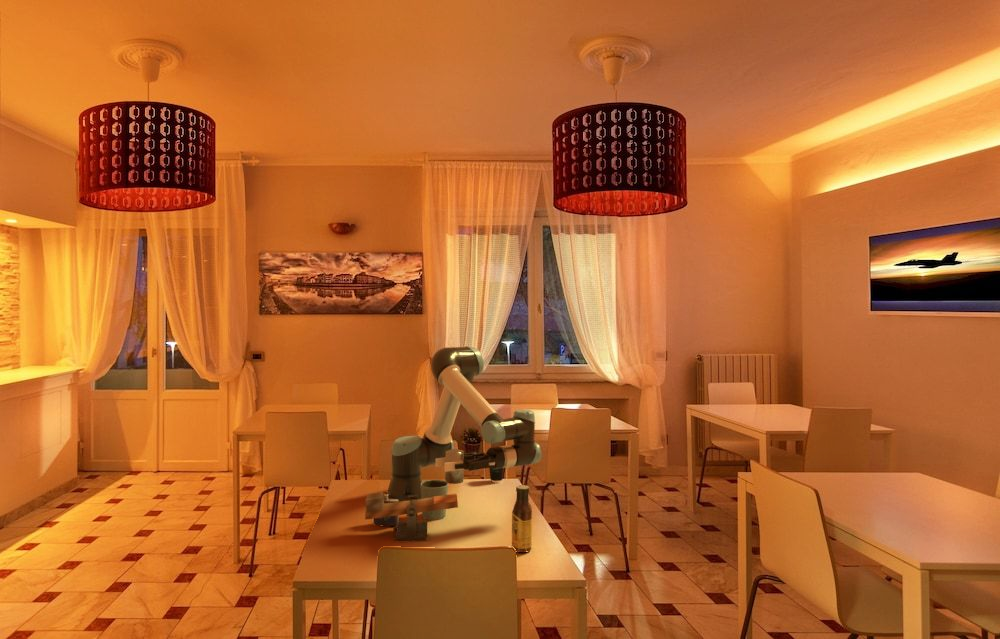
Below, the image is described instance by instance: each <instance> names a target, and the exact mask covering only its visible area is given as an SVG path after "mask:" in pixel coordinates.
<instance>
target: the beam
mask: <svg viewBox="0 0 1000 639" xmlns="http://www.w3.org/2000/svg"><path fill="white" fill-rule="evenodd" d="M383 497H384V492H383V491H382V492H375V493H374V492H373V493H367V495H366V498H365V512H364V516H365V518H364V519H365V520H374V518H381V517H389V516H397V515H399V516H402V515H403V516H404V515H407V505H417V507H416V513H417V514H418V513H422V512H427V511H435V510H443V509H446V510H450V509H456V508H459V503H458V495H457V493H452V494H451V493H450V494H447V495H442V496H434V497H432V498H424V499H416V500H414V499H411V500H408V501H399V502H393V503H385V504H384V499H383Z"/></svg>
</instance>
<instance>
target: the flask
mask: <svg viewBox="0 0 1000 639" xmlns="http://www.w3.org/2000/svg"><path fill="white" fill-rule="evenodd" d="M388 496H389V494H387V493H385V494H384V493H383V499H384V504H385V503H393V502H400V501H399V500H397V499H388ZM399 516H400V515H397V516H389V517H381V518H374V519H373V525H374V524H375V525H374V526H378V525H383V526H382V527H387V526H394V528H396V527H395V526H398V522H399V518H400V517H399Z"/></svg>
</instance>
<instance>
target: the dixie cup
mask: <svg viewBox="0 0 1000 639" xmlns="http://www.w3.org/2000/svg"><path fill="white" fill-rule="evenodd" d="M488 469H489V478H490V482H491V481H492V482H494V483H493V484H501V483H500V481H502V482H503V480H502V479H504V471H505V470H504V469H505V468H501V469H491V468H488ZM492 482H491V483H492Z"/></svg>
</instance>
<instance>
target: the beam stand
mask: <svg viewBox="0 0 1000 639" xmlns="http://www.w3.org/2000/svg"><path fill="white" fill-rule="evenodd" d="M411 499H414V500H416V499H417V495H411V496H408V500H411ZM416 507H417V505H407V514H406V521H405V522H404V521H403V522H402V521H401V522H398V526H397V527H396V533H395V542H396V541H409V542H427V541H428V521H418V513H416Z"/></svg>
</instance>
